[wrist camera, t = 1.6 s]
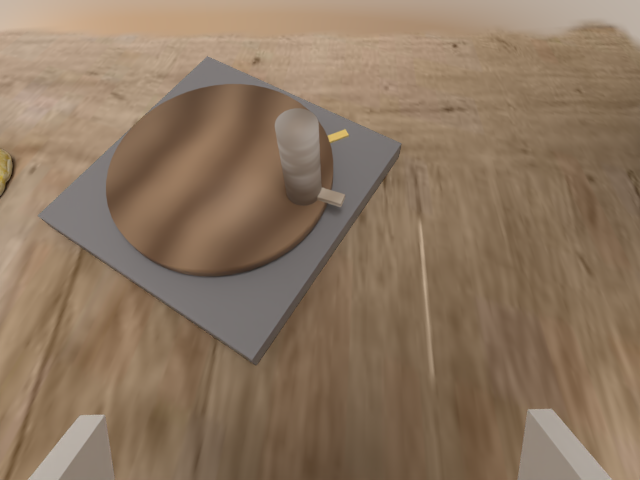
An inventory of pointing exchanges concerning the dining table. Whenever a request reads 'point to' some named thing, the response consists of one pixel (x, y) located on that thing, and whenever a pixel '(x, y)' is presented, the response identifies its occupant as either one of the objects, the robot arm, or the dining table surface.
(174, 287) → the base
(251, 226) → the dial
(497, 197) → the dining table surface
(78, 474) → the robot arm
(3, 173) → the bread roll
